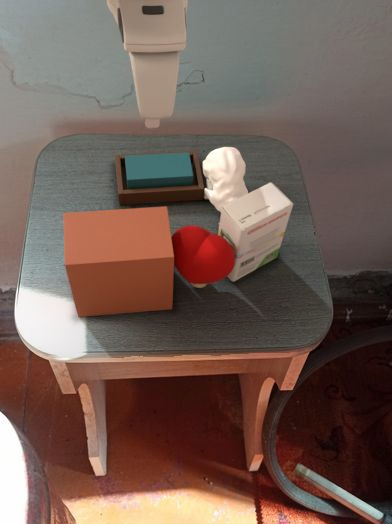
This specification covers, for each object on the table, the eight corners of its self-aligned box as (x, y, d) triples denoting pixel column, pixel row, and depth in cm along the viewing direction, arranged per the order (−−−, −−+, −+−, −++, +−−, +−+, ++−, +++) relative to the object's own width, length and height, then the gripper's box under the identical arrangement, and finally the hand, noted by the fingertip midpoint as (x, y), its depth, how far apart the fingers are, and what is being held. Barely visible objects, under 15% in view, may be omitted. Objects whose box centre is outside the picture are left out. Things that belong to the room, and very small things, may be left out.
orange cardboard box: (78, 317, 77) (64, 265, 66) (76, 269, 81) (63, 212, 70) (172, 309, 78) (174, 257, 68) (166, 262, 82) (167, 206, 71)
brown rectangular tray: (119, 205, 87) (118, 194, 84) (115, 166, 90) (114, 154, 88) (203, 199, 88) (204, 188, 86) (196, 161, 92) (197, 150, 89)
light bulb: (238, 279, 81) (247, 235, 72) (216, 315, 78) (223, 273, 69) (182, 253, 83) (184, 206, 74) (158, 287, 80) (157, 243, 71)
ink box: (258, 235, 85) (271, 179, 75) (278, 258, 84) (295, 203, 73) (212, 260, 83) (220, 204, 72) (232, 283, 81) (243, 230, 70)
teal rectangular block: (128, 194, 87) (127, 179, 84) (125, 170, 89) (124, 155, 86) (192, 190, 88) (193, 175, 85) (188, 166, 90) (189, 152, 88)
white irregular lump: (244, 137, 82) (265, 204, 78) (235, 176, 90) (255, 238, 86) (202, 142, 81) (221, 211, 77) (197, 181, 89) (215, 245, 85)
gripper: (110, -66, 64) (117, 47, 77) (125, 48, 55) (130, 156, 67) (165, -66, 65) (163, 46, 77) (188, 46, 56) (182, 153, 68)
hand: (148, 98), depth 72 cm, fingers open, 8 cm apart
